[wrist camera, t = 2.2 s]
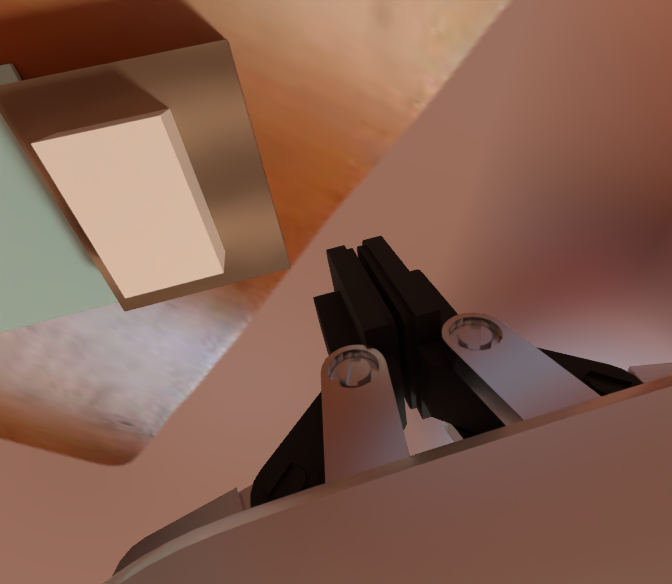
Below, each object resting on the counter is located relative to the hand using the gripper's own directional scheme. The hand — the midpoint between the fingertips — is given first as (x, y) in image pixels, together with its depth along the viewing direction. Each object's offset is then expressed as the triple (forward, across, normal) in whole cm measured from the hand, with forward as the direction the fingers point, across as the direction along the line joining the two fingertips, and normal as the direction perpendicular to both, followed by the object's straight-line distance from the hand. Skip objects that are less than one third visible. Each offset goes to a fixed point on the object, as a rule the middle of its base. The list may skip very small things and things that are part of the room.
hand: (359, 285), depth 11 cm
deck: (+18, +8, 0) cm, 20 cm away
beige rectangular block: (+13, +9, 0) cm, 16 cm away
